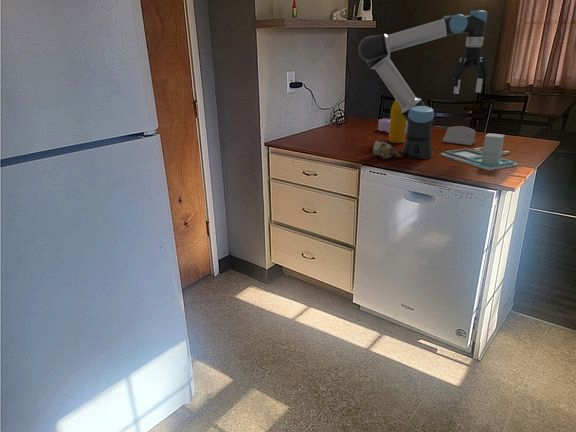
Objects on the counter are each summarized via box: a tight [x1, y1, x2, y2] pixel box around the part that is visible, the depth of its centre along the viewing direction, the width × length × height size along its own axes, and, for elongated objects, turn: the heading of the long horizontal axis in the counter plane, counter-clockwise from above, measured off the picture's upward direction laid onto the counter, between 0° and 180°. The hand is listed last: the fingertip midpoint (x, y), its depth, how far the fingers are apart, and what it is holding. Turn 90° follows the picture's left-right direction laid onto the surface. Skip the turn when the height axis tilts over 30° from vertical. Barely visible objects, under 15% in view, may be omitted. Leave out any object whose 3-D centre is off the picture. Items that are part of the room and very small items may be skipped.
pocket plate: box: [440, 148, 519, 172], centre depth 209 cm, size 18×30×2 cm, turn 25°
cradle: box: [471, 146, 511, 156], centre depth 222 cm, size 13×12×2 cm
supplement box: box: [481, 133, 506, 164], centre depth 200 cm, size 7×7×13 cm
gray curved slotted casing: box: [442, 125, 477, 146], centre depth 244 cm, size 17×5×10 cm, turn 51°
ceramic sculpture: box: [372, 140, 404, 160], centre depth 213 cm, size 11×9×15 cm
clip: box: [377, 118, 408, 136], centre depth 272 cm, size 20×12×7 cm, turn 47°
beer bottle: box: [387, 98, 407, 144], centre depth 242 cm, size 9×9×29 cm
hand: (467, 93), depth 214 cm, fingers open, 13 cm apart
